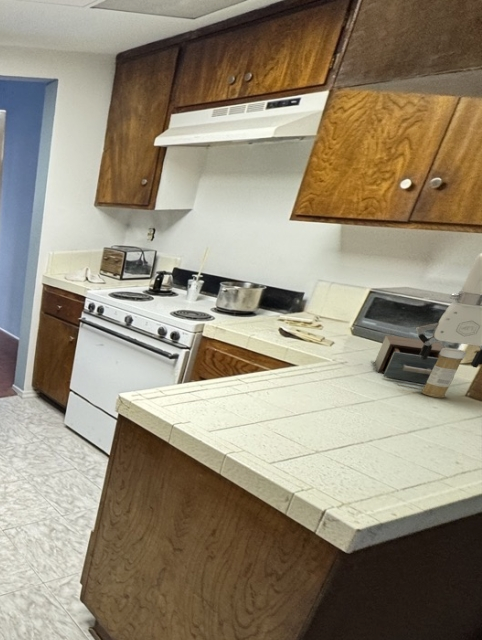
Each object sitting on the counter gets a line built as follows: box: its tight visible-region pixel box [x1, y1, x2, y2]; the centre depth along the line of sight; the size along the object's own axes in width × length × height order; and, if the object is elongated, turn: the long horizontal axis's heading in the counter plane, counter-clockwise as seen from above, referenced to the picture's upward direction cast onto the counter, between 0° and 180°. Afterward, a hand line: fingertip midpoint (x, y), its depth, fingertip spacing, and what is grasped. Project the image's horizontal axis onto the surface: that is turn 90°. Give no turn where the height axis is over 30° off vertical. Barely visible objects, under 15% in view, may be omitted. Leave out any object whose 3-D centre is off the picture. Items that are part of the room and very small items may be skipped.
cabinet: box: [374, 334, 446, 374], centre depth 150 cm, size 15×13×10 cm
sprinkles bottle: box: [421, 347, 467, 398], centre depth 130 cm, size 5×5×14 cm
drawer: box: [383, 347, 439, 385], centre depth 143 cm, size 18×11×8 cm, turn 139°
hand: (448, 362), depth 129 cm, fingers open, 9 cm apart
